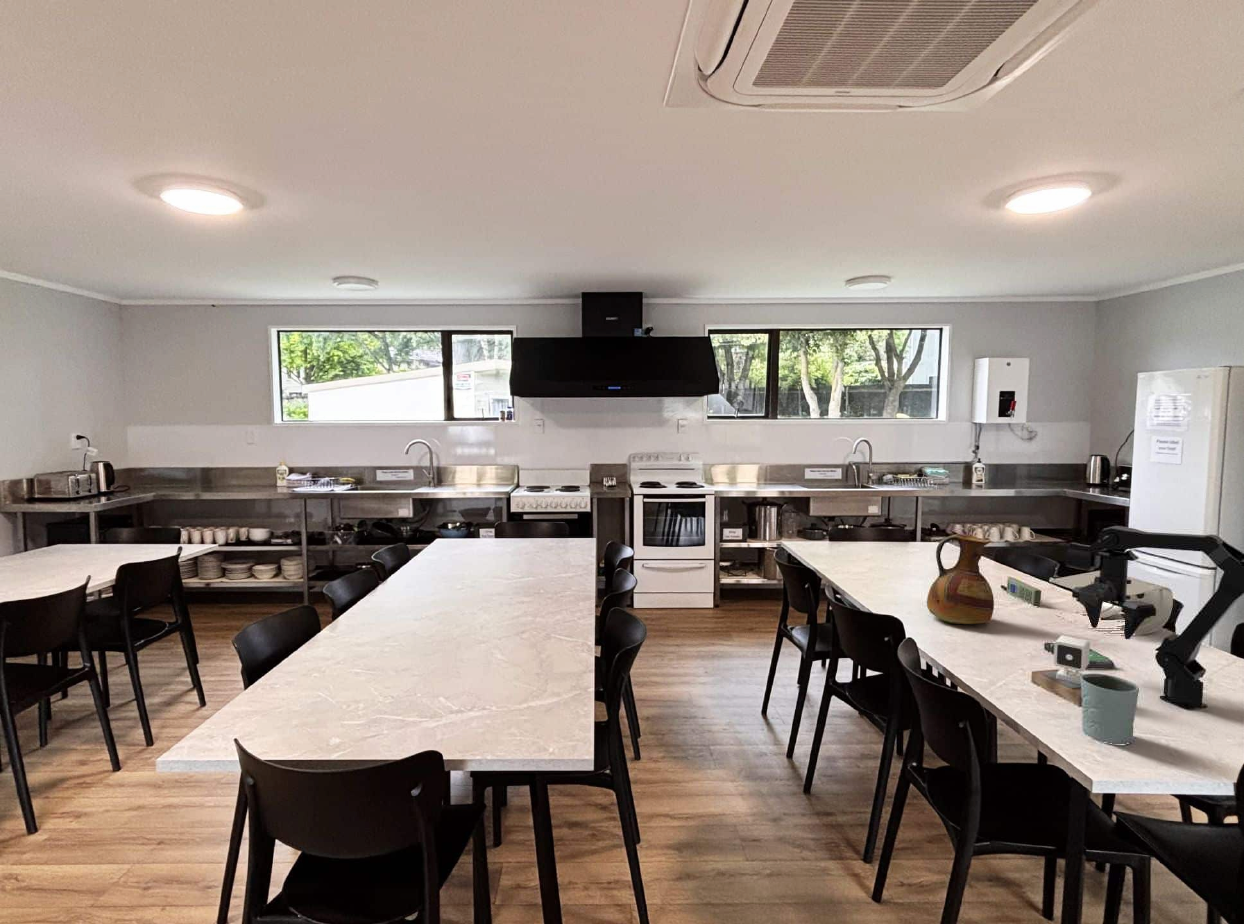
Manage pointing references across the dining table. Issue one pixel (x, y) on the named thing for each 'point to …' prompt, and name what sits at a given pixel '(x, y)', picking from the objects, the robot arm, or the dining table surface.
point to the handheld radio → (1023, 591)
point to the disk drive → (1094, 658)
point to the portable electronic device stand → (1152, 595)
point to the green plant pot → (1108, 708)
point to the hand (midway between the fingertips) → (1110, 633)
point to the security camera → (1071, 657)
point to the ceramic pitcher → (962, 585)
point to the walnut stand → (1058, 685)
